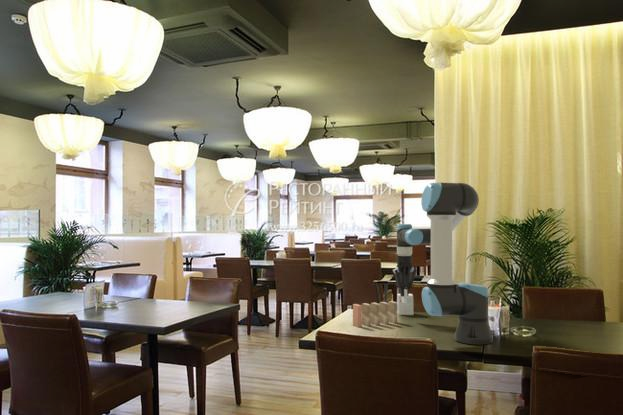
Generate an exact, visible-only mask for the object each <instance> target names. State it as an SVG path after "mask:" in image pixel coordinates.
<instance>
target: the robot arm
mask: <svg viewBox="0 0 623 415" xmlns="http://www.w3.org/2000/svg"><path fill="white" fill-rule="evenodd" d="M479 200H480V199H479V194H478V192H477V190H476V189H475V188H474V187H472V185H470V184H468V183H465V182H431V183H428V184H427V185H425V187H424V190H423V191H422V195H421V200H420V201H421V207H422V208H421V209H422V210H423V211H424V212H426V217H427V218H428V219H429V220H430V228H413V225H412V224H411V223H398V224H397V225H396V263H397V265H396V268H394V269H391V270H392V273H393V275H394V279H395V284H396V288H397V289H399V290H400V293H399V294H400V295H401V296H402V303H407V296H408V294H409V290H410V289H412V288H413V284H414V283H413V282H414V279H415V275H416V272H417V269H416V268H414V267H413V264H412V263H413V256H412V255H413V246H417V245H430V278H429V280H428V281H427V282H426V286H425V287H423V288H422V289H421V290H422V291H421V300H422V301H421V302H422V305H423V307H424V310H425V311H426V313H427V314H428V315H429V316H432V317H447V316H448V317H449V316H458V321H457V326H456V328H455V332H454V338H453V339H454V341H455V342H458V343H461V344H465V345H466V344H468V345H479V346H481V345H490V344H493V342H494V335H493V333H492V330H491V327H490V324H489V289H488V288H487V286H485V285H481V284H476V283H469V282H459V283H458V284H457V282H456V281H455V279H454V277H453V231H454V230H455V229H456V228H457V227H458V226H459V225H460V224H461V222H463V221H464V220H465V219H466V217H468V216H471V215H472V214H474V212H475V211H476V210H477V208H478V206H479V203H480V202H479Z"/></svg>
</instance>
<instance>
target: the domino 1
mask: <svg viewBox="0 0 623 415" xmlns="http://www.w3.org/2000/svg"><path fill="white" fill-rule="evenodd" d="M352 326H354V327H356V328H362V327H363V325H362V304H359V303H353V304H352Z"/></svg>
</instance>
